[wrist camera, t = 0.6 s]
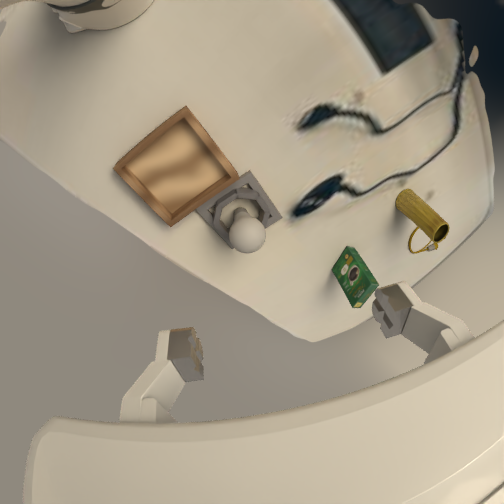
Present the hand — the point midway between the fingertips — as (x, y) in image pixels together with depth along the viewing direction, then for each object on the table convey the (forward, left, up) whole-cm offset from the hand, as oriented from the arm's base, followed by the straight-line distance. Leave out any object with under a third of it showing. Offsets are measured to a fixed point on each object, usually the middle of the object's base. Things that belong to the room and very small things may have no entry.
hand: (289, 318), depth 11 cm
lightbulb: (+17, -6, -39) cm, 42 cm away
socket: (+17, -6, -38) cm, 42 cm away
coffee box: (+44, +7, -39) cm, 59 cm away
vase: (+38, +28, -39) cm, 61 cm away
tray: (+2, -10, -38) cm, 40 cm away
